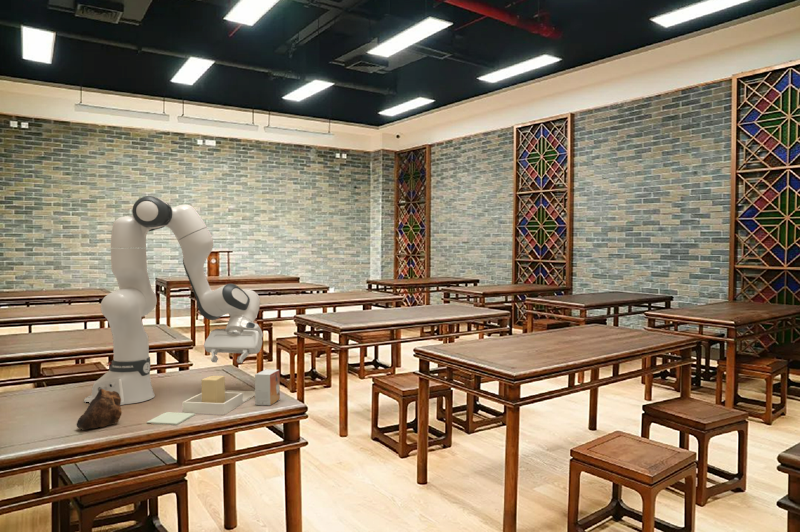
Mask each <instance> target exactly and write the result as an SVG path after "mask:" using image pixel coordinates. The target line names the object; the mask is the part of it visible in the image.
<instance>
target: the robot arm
mask: <svg viewBox="0 0 800 532" xmlns="http://www.w3.org/2000/svg"><path fill="white" fill-rule="evenodd" d="M131 212H132V215H122V216H120V217H118V218H116V219H115V220H114V221H113V224H112V228H111V234H110V262H111V263H110V265H111V272H112V274H113V275H114V276H115V278H116V281H117V285H118V289H116V290H113V291H111V292H110V293H108V294H106V295H105V296H104V297H103V298H102V300H101V302H100V311H101V314H102V316H103V317H105V319H107V322H108V325H109V328H110V332H111V334H112V335H111V336H112V340H113V341H112V344H113V345H112V346H113V359H112V360H111V361H108V362H106V366H107V367H109V370H108V371H107V372H106V373H104V374H103V375H101V377H100V378H98V379H97V380H96V381H94V383H93V386H92V388H91V394H90V395H88V396H86V397H85V398H84V400H83V403H86V402H89V403H88V404H90V403H91V401H92V400H93V399H95V397H96V395H97V394H98V392H99V390H100V389H104V390H106V391H111V392H113V391H116V392H117V393H119V395H120V398H121V403H120V406H123V405H130V404H136V403H142V402H146V401H148V400H152V399H153V398H155V396H156V395H155V392H154V390H153V384H152V379H151V357H150V353H149V352H150V351H149V349H150V347H149V343H150V342H149V334H148V333H147V331H146V330H145V328H144V325H143V319H142V318H143V317H145V316H146V315H148V314H150V313H151V312H152V311H153V310H155V308H156V307H157V306H156V305H157V303H158V302H157V295H156V294H155V292H154V290H153V289H152V285H151V281H150V278H149V273H148V263H147V260H148V259H147V235H148V232H152V231H155V230H159V229H162V228H164V227H166V228H168V229H170V231H171V232H172V234H173V235H174V236H175V238H176V240H177V242H178V245H179V247H180V248H181V249H180V250H181V252H182V265H183V268H184V270H185V273H186V277H187V278H188V282H189V284H190V286H191V289H192V291H193V294H194V296H195V299H196V305H197V308H198V312H199V313H200V315H201V316H202V317H204V318H205V319H207V320H209V321H214V320H215V321H216V320H218V319H219V318H221V317H223V316H224V315H227V314H228V315H229V319H228V321H227V324H226V327H225V328H215V329H213V330H212V331H210V333H209V335H208V336H207V338H206V339H205V341H204V343H203V347H204V349H205V351H206V352H207V353H211V359H210V361H211V362H212V363H217V362H218V361H219V357H218V356H217V355H218V353H220V354H221V353H223V354H241V355H238V356H237V359H236V363H237V364H243V362H244V360H245V359H246V358H247V357H248V356H249V354H259V352H261V349H262V346H263V336H264V333H263V331H262V328H261V327H260V326H259V324H258V323H256V322H254V321H255V320H256V319H257V316H258V314H259V312H260V305H261V299H260V296H259V294H258V293H257V292H256V291H254V290H252V289H243V288H241V287H240V286H238V285H236V284H234V283H227V284H224V285H222V286H219V287H218V288H216V289H214V290H212V288H211V286H210V284H209V281H208V279H207V276H206V273H205V270H204V269H205V268H204V266H205V263H206V260H207V258H208V257H209V255H210V254H211V253H212V251H213V248H214V238H213V236H212V233H211V232H210V230H209V228H208V226H207V225H206V223H205V221H204V220H203V218H202V217H201V216H200V214H199V213H198V212H197V210H196V209H195V208H194V206H192V205H191V204H185V203H184V204H179V205H177V206H174V207H173V206H171V205H170V204H169V203H168V202H167V201H166V200H164V199H162V198H161V197H160V198H159V197H158V196H157V197H156V196H152V195H146V196H142V197H140V198H138V199H137V200H136V201H135V202H134V204H133V206H132V210H131Z"/></svg>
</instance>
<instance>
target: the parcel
mask: <svg viewBox="0 0 800 532" xmlns="http://www.w3.org/2000/svg"><path fill="white" fill-rule="evenodd" d="M225 378H226V376H225V375H209V376H207V377H205V378H202V379H201V381H200V382H201V393H202V402H203V403H225V390H226V382H225V381H226V379H225Z"/></svg>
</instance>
